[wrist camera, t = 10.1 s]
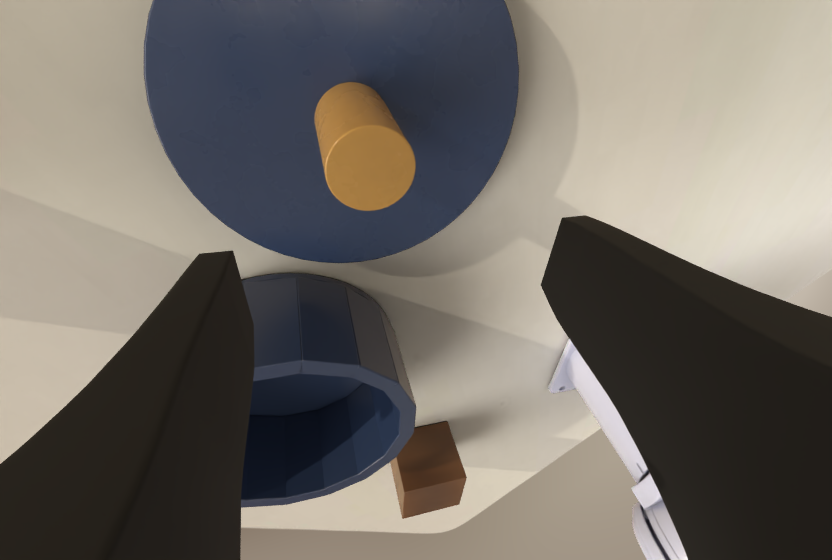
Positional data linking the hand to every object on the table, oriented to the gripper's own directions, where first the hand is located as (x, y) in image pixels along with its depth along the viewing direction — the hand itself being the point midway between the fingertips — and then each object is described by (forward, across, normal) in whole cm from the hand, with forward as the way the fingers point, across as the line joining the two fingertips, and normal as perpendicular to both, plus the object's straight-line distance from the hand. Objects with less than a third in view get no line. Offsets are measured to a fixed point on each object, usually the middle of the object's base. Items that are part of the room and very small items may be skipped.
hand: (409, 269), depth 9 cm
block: (+9, -4, +25) cm, 27 cm away
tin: (+9, +4, +12) cm, 16 cm away
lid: (+8, 0, -1) cm, 8 cm away
